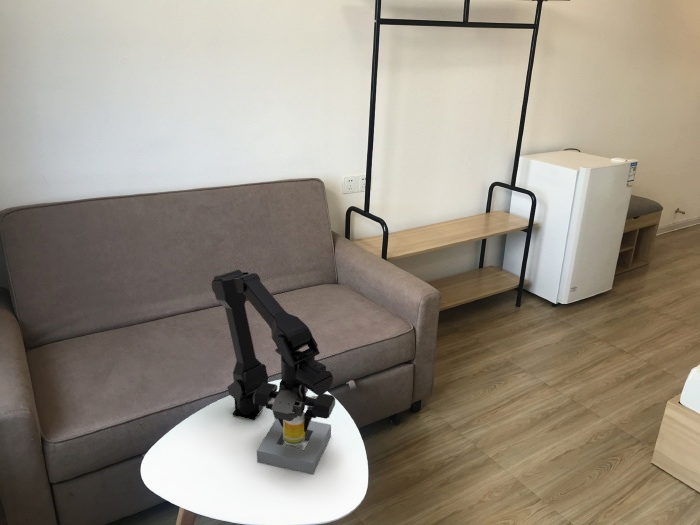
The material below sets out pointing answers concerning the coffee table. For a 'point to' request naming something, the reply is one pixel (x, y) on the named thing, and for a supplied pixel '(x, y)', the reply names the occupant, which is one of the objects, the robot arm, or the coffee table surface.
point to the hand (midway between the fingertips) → (294, 428)
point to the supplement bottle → (294, 430)
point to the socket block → (292, 457)
